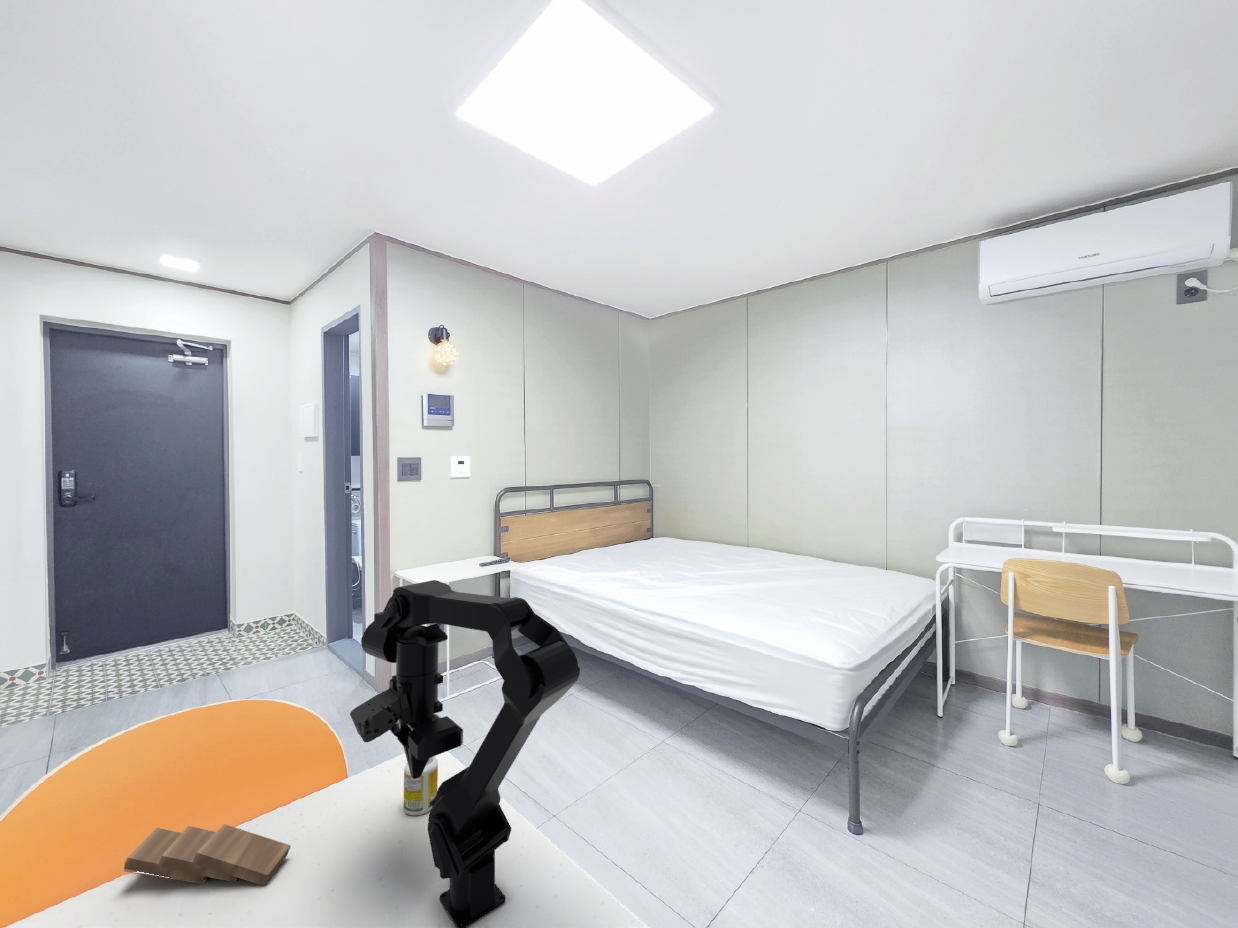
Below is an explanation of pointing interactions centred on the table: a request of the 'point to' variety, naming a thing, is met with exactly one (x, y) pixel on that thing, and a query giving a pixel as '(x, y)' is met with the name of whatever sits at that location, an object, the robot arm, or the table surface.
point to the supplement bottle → (420, 788)
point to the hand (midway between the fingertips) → (416, 776)
